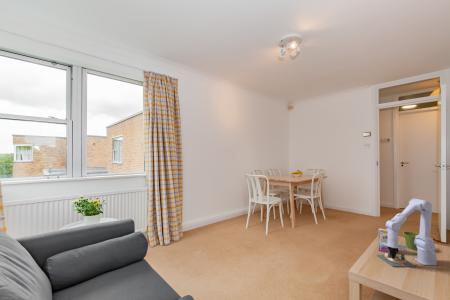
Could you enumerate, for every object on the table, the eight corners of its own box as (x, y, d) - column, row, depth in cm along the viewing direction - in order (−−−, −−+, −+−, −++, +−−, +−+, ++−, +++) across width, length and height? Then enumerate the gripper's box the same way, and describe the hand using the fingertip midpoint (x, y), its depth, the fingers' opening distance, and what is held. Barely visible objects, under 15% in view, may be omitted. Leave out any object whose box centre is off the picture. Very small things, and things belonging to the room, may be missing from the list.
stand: (397, 255, 156) (397, 254, 156) (415, 267, 141) (415, 265, 141) (377, 255, 156) (377, 254, 156) (392, 267, 141) (392, 265, 141)
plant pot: (407, 250, 164) (407, 236, 164) (399, 244, 175) (399, 230, 175) (426, 252, 161) (426, 238, 161) (417, 245, 172) (417, 232, 172)
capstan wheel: (411, 263, 143) (411, 255, 143) (394, 264, 142) (394, 256, 142) (395, 254, 155) (395, 247, 155) (380, 255, 154) (380, 247, 154)
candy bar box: (378, 250, 164) (378, 229, 164) (378, 248, 168) (378, 227, 168) (397, 254, 158) (397, 232, 158) (396, 251, 162) (396, 230, 162)
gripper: (404, 238, 146) (404, 257, 146) (378, 234, 152) (378, 253, 152) (407, 242, 139) (407, 262, 139) (380, 238, 146) (381, 258, 146)
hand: (392, 258), depth 145 cm, fingers closed
